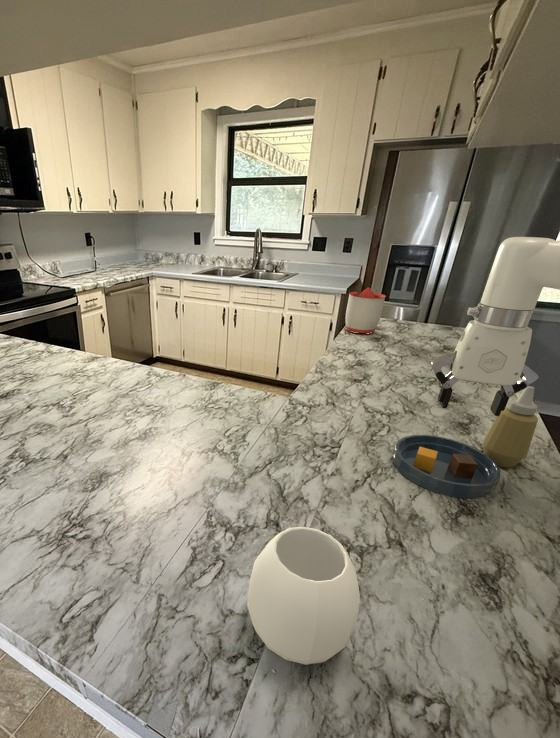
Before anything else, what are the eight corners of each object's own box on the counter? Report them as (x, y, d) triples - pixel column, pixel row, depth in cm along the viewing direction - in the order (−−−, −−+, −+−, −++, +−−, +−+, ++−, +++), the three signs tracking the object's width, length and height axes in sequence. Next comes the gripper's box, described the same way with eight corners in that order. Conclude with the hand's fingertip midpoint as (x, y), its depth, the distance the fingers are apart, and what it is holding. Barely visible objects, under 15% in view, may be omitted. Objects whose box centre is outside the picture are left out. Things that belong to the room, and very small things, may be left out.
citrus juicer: (370, 327, 193) (380, 284, 184) (381, 337, 178) (392, 291, 169) (338, 325, 194) (345, 283, 185) (346, 335, 179) (355, 289, 170)
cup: (333, 587, 57) (351, 516, 51) (362, 683, 46) (390, 606, 40) (242, 582, 58) (249, 511, 52) (247, 676, 46) (257, 599, 40)
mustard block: (433, 465, 86) (437, 451, 84) (431, 472, 83) (436, 458, 81) (415, 459, 87) (419, 446, 86) (412, 467, 85) (417, 453, 83)
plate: (479, 456, 90) (484, 443, 88) (507, 510, 74) (515, 495, 72) (388, 441, 95) (392, 428, 94) (396, 487, 79) (400, 473, 77)
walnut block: (465, 469, 85) (470, 455, 83) (472, 478, 81) (478, 464, 80) (447, 467, 85) (452, 453, 83) (454, 476, 82) (459, 462, 80)
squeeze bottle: (516, 456, 90) (549, 383, 82) (524, 475, 84) (562, 398, 75) (474, 448, 93) (503, 377, 85) (480, 465, 87) (511, 390, 78)
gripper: (449, 316, 66) (420, 410, 74) (574, 327, 61) (529, 426, 69) (440, 307, 73) (415, 394, 81) (554, 317, 68) (514, 408, 76)
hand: (468, 408), depth 75 cm, fingers open, 8 cm apart
